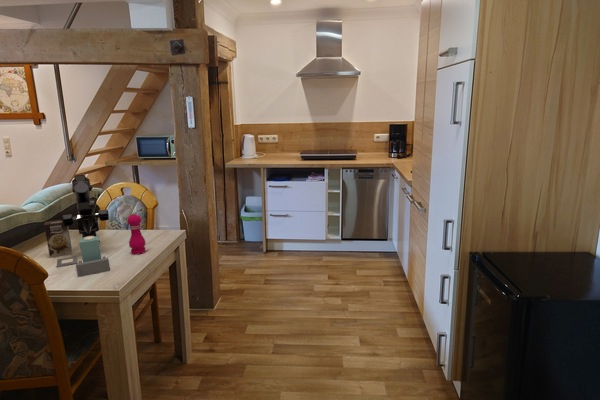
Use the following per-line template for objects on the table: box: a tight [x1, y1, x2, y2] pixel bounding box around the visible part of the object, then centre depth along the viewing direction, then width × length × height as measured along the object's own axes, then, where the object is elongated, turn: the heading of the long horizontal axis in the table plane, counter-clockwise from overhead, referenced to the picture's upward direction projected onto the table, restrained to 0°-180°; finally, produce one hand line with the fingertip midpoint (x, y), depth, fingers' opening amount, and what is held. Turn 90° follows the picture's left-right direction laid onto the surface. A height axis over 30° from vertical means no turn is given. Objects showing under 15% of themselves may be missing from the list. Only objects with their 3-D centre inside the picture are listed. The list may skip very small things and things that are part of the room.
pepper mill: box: [126, 211, 146, 256], centre depth 183 cm, size 7×7×20 cm
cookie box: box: [43, 219, 73, 259], centre depth 184 cm, size 9×6×16 cm
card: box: [56, 255, 79, 268], centre depth 176 cm, size 10×8×1 cm
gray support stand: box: [75, 256, 111, 278], centre depth 166 cm, size 11×12×5 cm
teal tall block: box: [79, 235, 102, 263], centre depth 169 cm, size 6×7×13 cm
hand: (88, 233), depth 177 cm, fingers closed
